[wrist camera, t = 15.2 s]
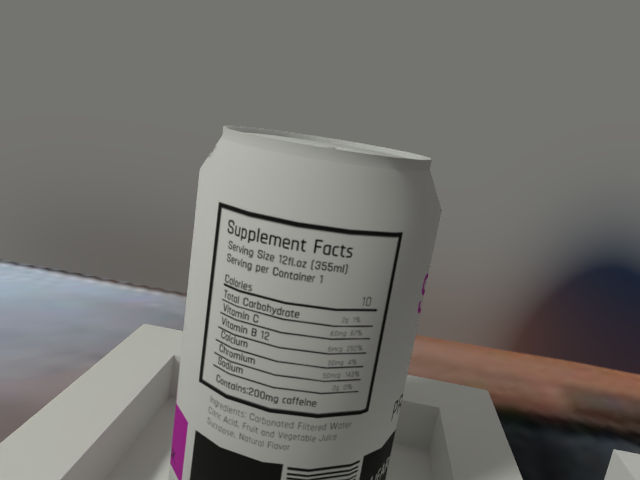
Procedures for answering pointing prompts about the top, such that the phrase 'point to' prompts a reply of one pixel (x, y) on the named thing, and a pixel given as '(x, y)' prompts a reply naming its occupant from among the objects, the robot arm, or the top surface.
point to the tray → (159, 412)
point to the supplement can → (300, 307)
